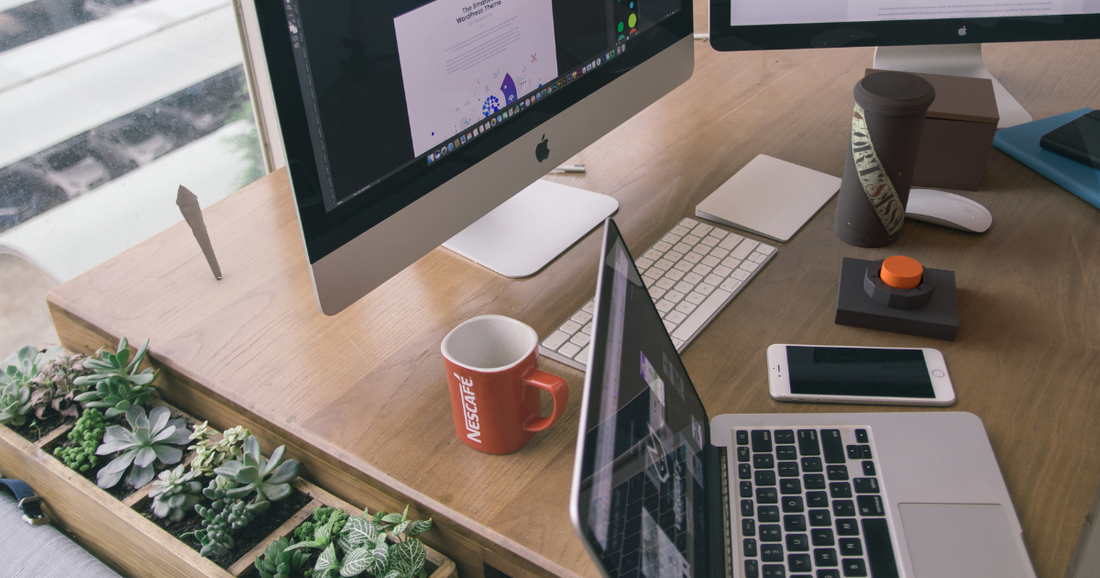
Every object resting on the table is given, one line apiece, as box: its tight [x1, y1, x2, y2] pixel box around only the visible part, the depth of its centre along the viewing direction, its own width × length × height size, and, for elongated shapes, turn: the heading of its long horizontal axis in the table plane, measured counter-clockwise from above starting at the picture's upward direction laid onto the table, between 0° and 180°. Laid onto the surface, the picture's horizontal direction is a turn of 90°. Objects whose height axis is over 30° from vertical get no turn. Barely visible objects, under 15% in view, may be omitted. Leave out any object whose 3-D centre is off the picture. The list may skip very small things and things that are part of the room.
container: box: [832, 70, 936, 248], centre depth 93 cm, size 9×9×20 cm
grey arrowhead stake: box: [175, 184, 223, 279], centre depth 97 cm, size 2×3×14 cm
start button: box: [880, 255, 923, 290], centre depth 84 cm, size 4×4×2 cm
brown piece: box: [863, 67, 1000, 125], centre depth 105 cm, size 16×13×1 cm
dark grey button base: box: [833, 256, 960, 343], centre depth 86 cm, size 12×10×4 cm
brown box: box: [911, 117, 999, 192], centre depth 108 cm, size 16×13×10 cm
